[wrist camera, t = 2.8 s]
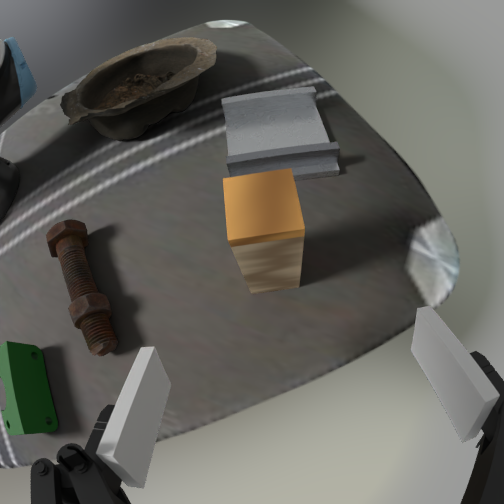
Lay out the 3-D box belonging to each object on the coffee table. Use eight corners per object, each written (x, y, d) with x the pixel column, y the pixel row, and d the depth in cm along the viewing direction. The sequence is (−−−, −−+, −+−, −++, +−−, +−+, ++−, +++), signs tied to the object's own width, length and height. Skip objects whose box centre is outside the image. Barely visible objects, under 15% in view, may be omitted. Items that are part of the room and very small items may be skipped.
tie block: (251, 294, 29) (227, 240, 18) (246, 250, 31) (222, 178, 20) (299, 287, 29) (304, 228, 18) (291, 244, 30) (291, 168, 19)
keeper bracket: (232, 189, 34) (227, 170, 30) (225, 114, 39) (221, 95, 36) (338, 175, 33) (342, 155, 30) (312, 103, 38) (312, 83, 35)
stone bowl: (91, 187, 37) (54, 143, 28) (86, 108, 48) (65, 74, 40) (254, 106, 38) (241, 49, 30) (199, 52, 50) (187, 14, 42)
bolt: (118, 356, 30) (78, 249, 35) (139, 335, 28) (94, 222, 33) (73, 365, 25) (39, 246, 30) (89, 343, 23) (52, 216, 28)
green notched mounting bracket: (44, 371, 32) (-6, 341, 26) (63, 362, 31) (9, 329, 25) (36, 446, 24) (-22, 422, 18) (57, 446, 23) (-9, 419, 17)
